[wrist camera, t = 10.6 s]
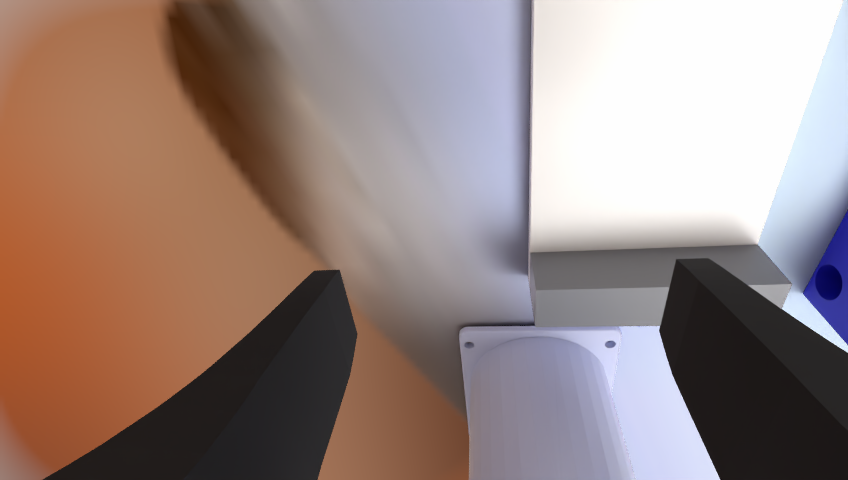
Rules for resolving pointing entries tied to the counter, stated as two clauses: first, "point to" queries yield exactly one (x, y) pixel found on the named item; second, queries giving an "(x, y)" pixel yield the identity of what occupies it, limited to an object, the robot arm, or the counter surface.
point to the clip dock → (660, 145)
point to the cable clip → (832, 282)
